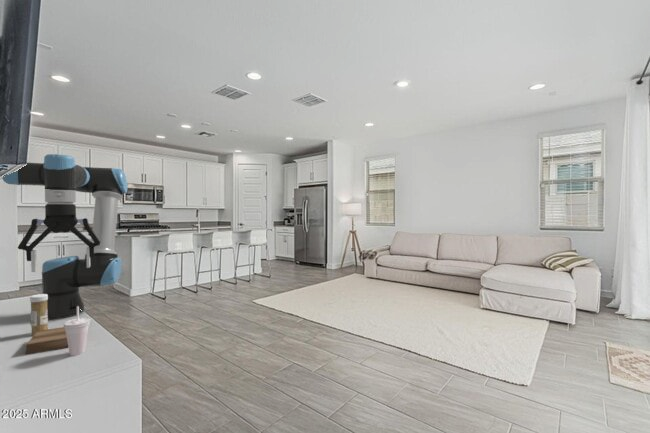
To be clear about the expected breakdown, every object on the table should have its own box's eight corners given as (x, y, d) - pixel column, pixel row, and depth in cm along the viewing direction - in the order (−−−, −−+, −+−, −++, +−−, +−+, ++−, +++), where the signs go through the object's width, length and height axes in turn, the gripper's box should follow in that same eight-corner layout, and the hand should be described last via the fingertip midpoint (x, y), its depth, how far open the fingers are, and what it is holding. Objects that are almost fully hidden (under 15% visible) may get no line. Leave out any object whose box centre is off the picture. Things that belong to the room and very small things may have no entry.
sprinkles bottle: (48, 333, 110) (48, 295, 109) (31, 337, 106) (30, 297, 106) (47, 329, 113) (47, 292, 112) (30, 333, 110) (29, 295, 109)
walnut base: (37, 339, 104) (37, 331, 104) (82, 332, 110) (82, 324, 110) (26, 354, 94) (26, 344, 94) (76, 345, 100) (76, 336, 100)
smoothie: (93, 347, 99) (93, 303, 99) (86, 355, 93) (85, 309, 93) (69, 350, 97) (68, 305, 97) (59, 359, 91) (59, 311, 91)
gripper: (2, 203, 90) (5, 275, 92) (107, 204, 104) (108, 267, 105) (10, 202, 97) (12, 270, 98) (108, 203, 110) (109, 263, 111)
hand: (62, 269), depth 101 cm, fingers open, 13 cm apart
